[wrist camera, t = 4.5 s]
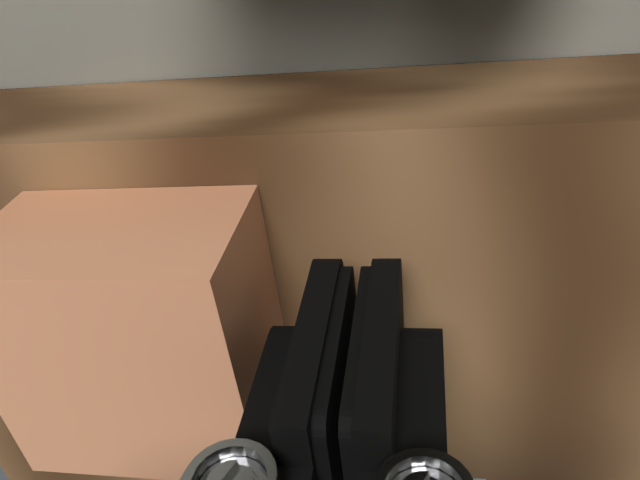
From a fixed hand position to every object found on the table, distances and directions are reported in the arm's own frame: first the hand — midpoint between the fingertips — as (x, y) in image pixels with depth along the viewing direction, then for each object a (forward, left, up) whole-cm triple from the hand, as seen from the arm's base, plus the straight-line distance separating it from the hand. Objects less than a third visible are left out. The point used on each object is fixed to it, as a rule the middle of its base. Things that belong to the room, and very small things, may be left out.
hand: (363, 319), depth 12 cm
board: (+2, +4, -4) cm, 6 cm away
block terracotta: (+4, 0, -1) cm, 4 cm away
